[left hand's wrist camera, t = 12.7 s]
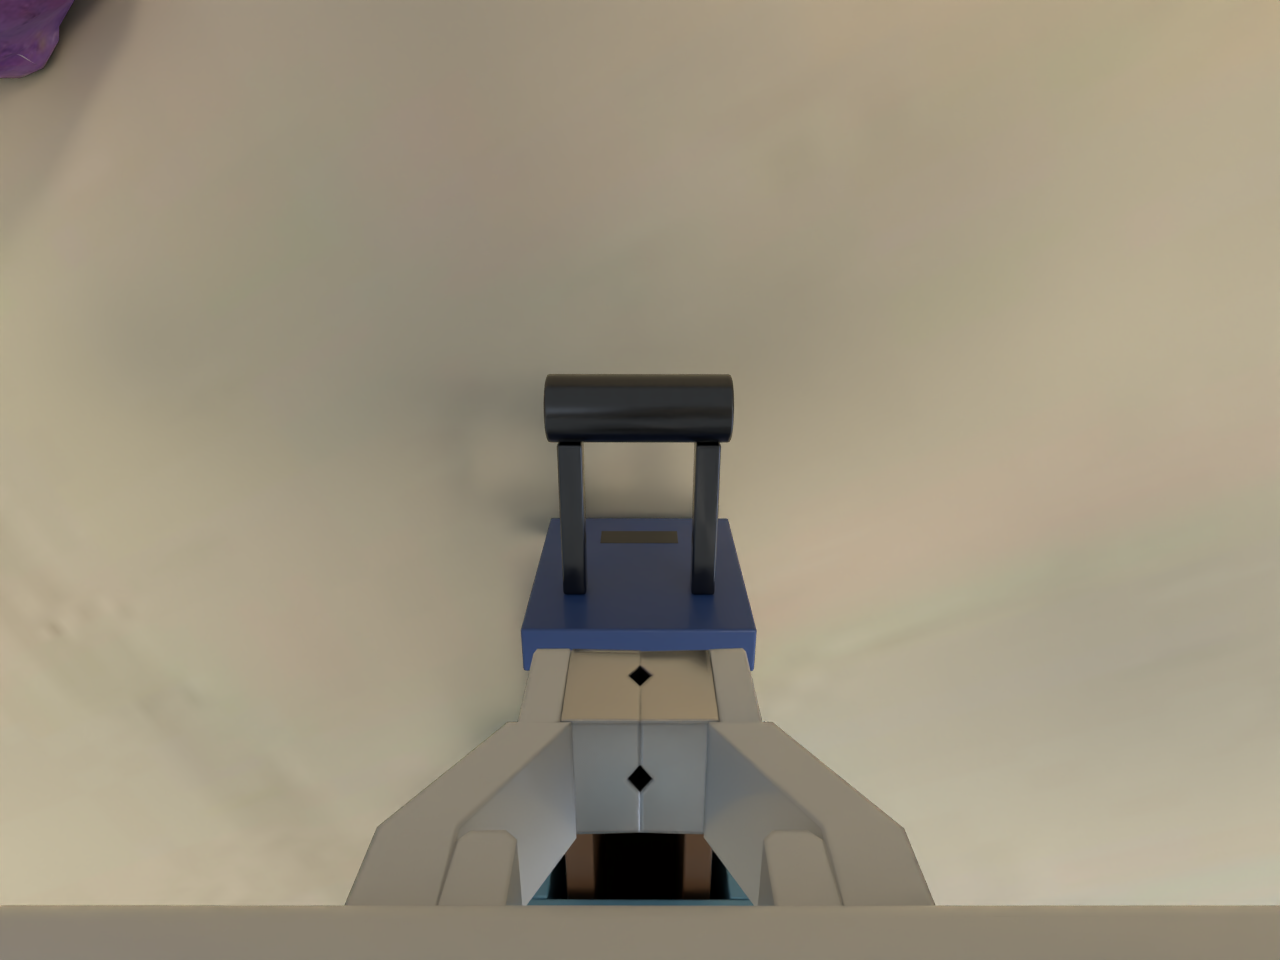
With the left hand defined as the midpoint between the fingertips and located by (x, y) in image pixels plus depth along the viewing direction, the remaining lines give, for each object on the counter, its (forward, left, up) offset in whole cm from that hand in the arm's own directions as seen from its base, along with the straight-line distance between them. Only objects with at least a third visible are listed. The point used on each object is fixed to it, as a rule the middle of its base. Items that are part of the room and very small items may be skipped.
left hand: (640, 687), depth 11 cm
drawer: (+10, 0, -12) cm, 16 cm away
